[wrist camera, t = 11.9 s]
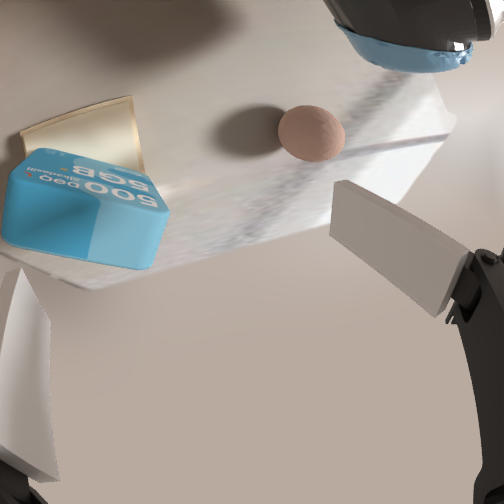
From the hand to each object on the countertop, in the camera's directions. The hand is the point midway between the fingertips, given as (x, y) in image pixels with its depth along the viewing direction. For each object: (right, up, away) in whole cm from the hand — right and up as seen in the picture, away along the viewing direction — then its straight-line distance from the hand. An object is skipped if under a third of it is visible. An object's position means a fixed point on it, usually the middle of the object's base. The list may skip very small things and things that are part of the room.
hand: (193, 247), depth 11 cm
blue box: (-14, +7, +15) cm, 22 cm away
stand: (-15, +8, +17) cm, 24 cm away
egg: (+7, +16, +26) cm, 31 cm away
